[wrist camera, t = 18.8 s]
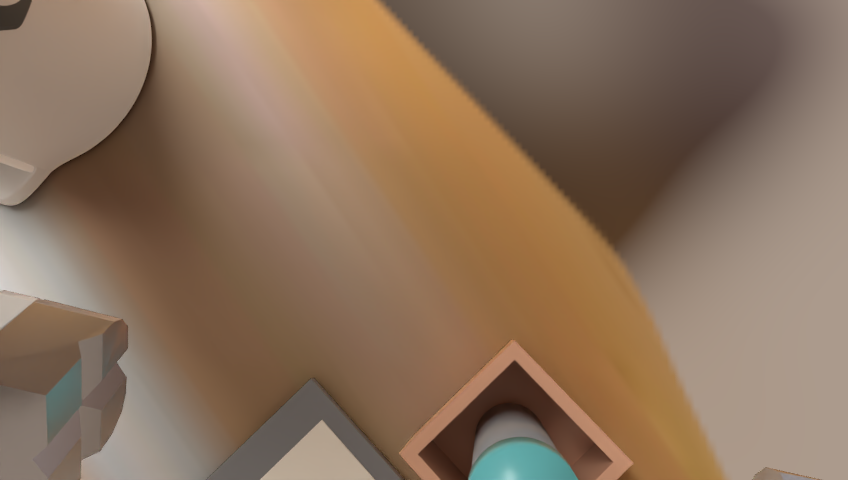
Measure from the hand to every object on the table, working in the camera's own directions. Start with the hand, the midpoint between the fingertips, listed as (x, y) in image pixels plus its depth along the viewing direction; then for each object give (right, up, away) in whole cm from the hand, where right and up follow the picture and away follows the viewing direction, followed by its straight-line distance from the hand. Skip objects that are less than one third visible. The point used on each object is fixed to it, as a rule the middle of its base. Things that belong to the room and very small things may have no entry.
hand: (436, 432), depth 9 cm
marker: (+4, -8, +27) cm, 28 cm away
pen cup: (+4, -8, +27) cm, 29 cm away
